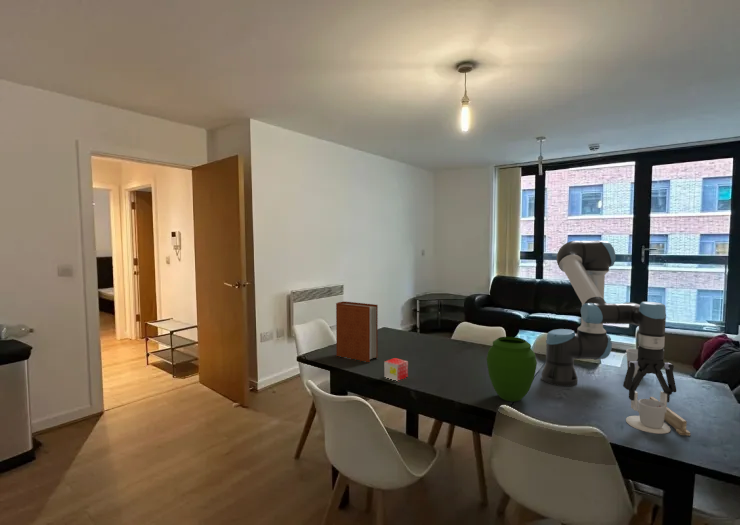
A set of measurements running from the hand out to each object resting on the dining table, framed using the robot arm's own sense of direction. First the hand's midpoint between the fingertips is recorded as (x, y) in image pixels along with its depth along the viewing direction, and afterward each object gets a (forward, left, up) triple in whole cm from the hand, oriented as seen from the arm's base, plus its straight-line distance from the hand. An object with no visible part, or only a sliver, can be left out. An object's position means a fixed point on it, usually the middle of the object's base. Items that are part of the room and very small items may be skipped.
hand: (648, 409), depth 141 cm
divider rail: (+8, +5, -5) cm, 11 cm away
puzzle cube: (-93, +34, -6) cm, 99 cm away
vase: (-44, +17, -6) cm, 47 cm away
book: (-118, +62, -6) cm, 133 cm away
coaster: (0, 0, -5) cm, 5 cm away
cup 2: (0, 0, -5) cm, 5 cm away
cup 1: (+20, +55, -6) cm, 59 cm away
